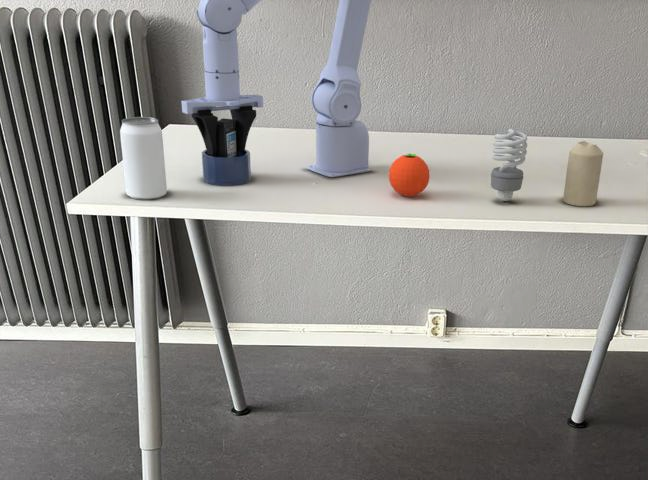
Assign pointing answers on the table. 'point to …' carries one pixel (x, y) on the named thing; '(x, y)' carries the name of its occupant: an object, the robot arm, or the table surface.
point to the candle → (583, 174)
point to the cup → (226, 169)
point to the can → (143, 158)
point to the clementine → (409, 175)
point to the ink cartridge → (226, 138)
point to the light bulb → (508, 164)
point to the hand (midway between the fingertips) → (225, 152)
